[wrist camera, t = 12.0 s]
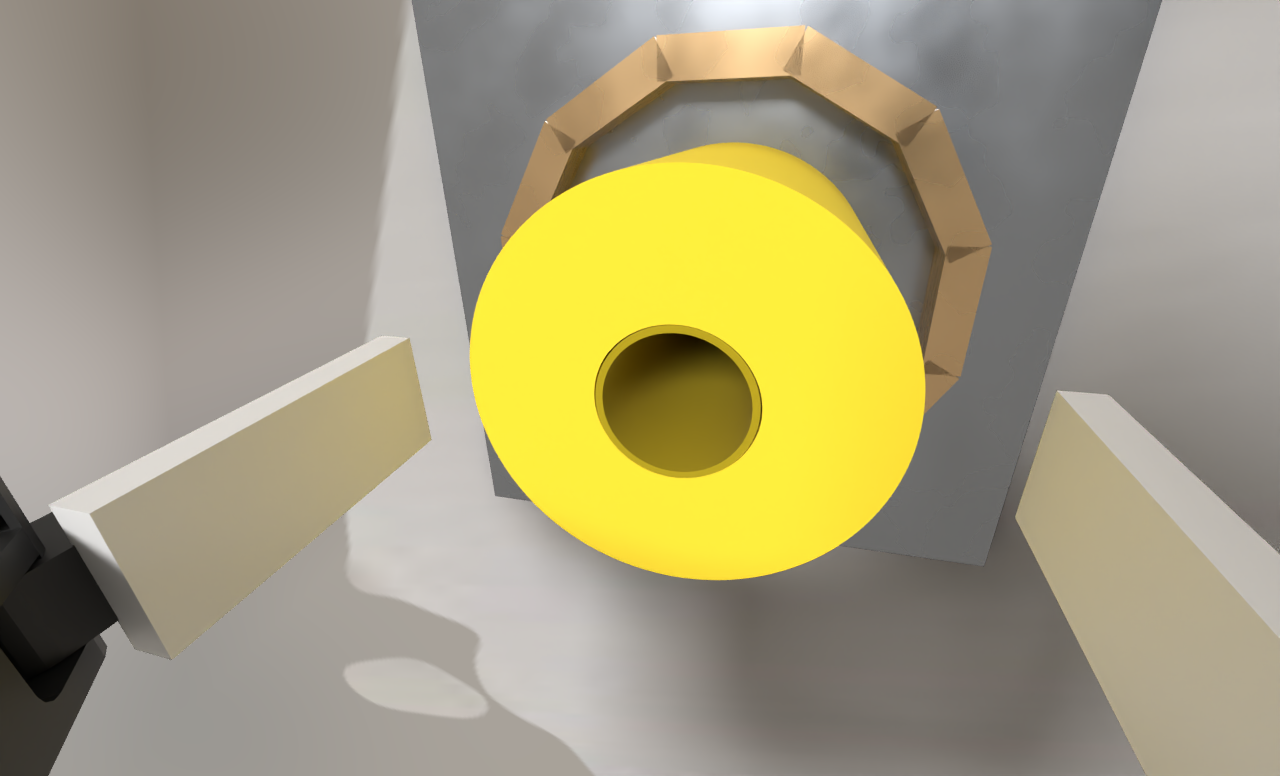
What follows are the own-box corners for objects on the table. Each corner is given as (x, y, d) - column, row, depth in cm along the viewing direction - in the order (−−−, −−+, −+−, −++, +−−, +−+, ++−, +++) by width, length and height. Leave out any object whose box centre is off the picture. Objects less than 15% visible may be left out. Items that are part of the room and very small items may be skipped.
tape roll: (626, 108, 19) (489, 102, 11) (924, 188, 18) (1033, 250, 9) (577, 366, 23) (457, 500, 15) (808, 443, 22) (813, 632, 14)
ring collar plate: (1181, -126, 14) (1251, -170, 12) (977, 550, 24) (995, 594, 21) (421, -41, 19) (373, -61, 17) (504, 484, 29) (480, 514, 27)
